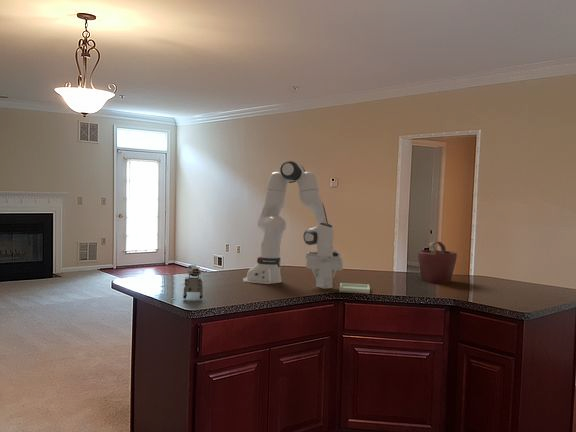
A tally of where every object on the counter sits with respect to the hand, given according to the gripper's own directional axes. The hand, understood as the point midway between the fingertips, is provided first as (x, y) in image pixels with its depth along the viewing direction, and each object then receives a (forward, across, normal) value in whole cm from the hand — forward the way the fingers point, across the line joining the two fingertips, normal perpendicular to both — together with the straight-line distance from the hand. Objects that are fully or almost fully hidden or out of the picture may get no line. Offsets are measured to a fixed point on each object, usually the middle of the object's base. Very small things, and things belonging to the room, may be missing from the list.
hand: (324, 277), depth 293 cm
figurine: (+6, -60, -46) cm, 76 cm away
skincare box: (+6, 0, 0) cm, 6 cm away
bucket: (+6, +66, +42) cm, 79 cm away
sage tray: (+6, +17, -3) cm, 18 cm away
